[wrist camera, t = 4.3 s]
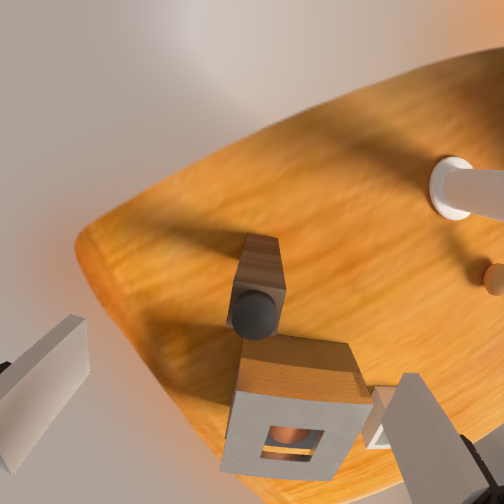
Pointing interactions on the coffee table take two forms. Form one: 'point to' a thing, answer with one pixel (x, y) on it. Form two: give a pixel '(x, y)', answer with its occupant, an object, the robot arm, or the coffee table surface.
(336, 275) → the coffee table surface
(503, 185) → the candle
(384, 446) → the pen cup
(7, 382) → the robot arm
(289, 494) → the coffee table surface
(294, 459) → the grey box with hole
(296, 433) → the button
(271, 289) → the wood knob block
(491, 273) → the figurine
